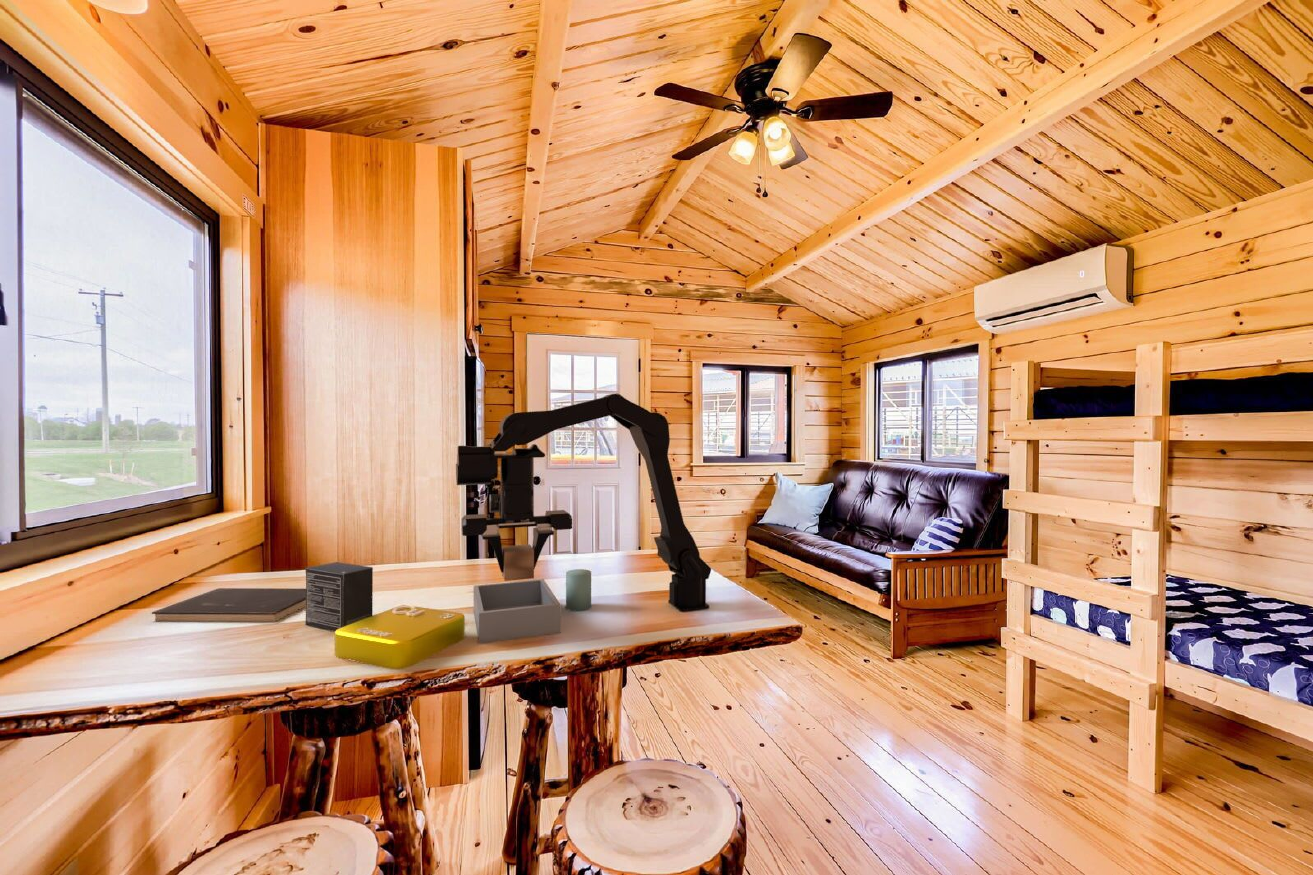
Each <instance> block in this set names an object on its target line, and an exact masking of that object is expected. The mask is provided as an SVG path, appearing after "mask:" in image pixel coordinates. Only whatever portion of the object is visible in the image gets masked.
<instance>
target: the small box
mask: <svg viewBox="0 0 1313 875" xmlns="http://www.w3.org/2000/svg"><path fill="white" fill-rule="evenodd" d="M373 570H374V568H373V566H366V565H359V564H352V563H345V562H337V561H335V562H330V563H325V564H320V565H314V566H309V567H306V568H305V589H306V606H305V625H306V626H310V627H313V628H319V629H324V630H328V631H333V632H335V631H336V630H337V629H339V628H342V627H344V626H347V625H350V624H352V623H355V622H358V621H360V620H363V619H366V618H368V617H371V616H373V602H374V601H373V595H374V594H373V593H374V592H373V591H374V590H373V589H374V588H373V587H374V586H373V584H374V583H373V579H374V578H373V575H374V574H373Z"/></svg>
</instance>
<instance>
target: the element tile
mask: <svg viewBox="0 0 1313 875" xmlns="http://www.w3.org/2000/svg"><path fill="white" fill-rule="evenodd" d="M465 619H466V618H465V614H463V613H462V612H457V611H450V610H449V611H448V610H443V609H435V608H429V607H422V606H415V605H408V604H407V605H406V604H405V605H404V604H403V605H399V606H396V607H393V608H390V609H388V610H384V611H382V612H379V613H377V614H374V615H372V616H371V617H368V618H366V619H363V620H360V621H358V622H355V623H352V624H350V625H347V626H344V627H342V628H339V629H337V630H336V631H334V657H335V656H336V657H335V658H337V657H338V658H337V659H340V658H342V659H341V660H345V659H351V660H355V661H359V662H358V663H360V662H363V663H362V664H365V663H366V664H365V665H370V664H371V665H370V666H376V667H380V666H381V667H380V668H385V669H389V668H390V669H389V670H402V669H407V668H409V667H412V666H414V664H415V665H416V664H419V663H420V662H423V661H425V660H426V659H428V658H430V657H432V656H434V655H436V654H438V653H440V652H442V651H443V650H445V649H447V648H449V647H452V646H453V645H455V644H457V643H459V642H460V641H463V640H464V639H465V636H466V633H465V632H466V631H465V630H466V628H465V626H466V625H465V622H466V620H465ZM355 661H354V662H355Z"/></svg>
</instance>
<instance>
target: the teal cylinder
mask: <svg viewBox="0 0 1313 875" xmlns="http://www.w3.org/2000/svg"><path fill="white" fill-rule="evenodd" d="M565 608H566V610H567V611H571V612H584V611H588V610H590V609H592V571H591V570H590V569H581V568H579V569H577V568H576V569H571V570H568V571H566V572H565Z"/></svg>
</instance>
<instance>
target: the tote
mask: <svg viewBox="0 0 1313 875" xmlns="http://www.w3.org/2000/svg"><path fill="white" fill-rule="evenodd" d="M473 614H474V621H475V626H476V632H477V639H478V643H479V644H484V643H485V644H486V643H492V642H493V643H494V642H499V641H508V640H514V639H522V638H531V637H538V636H546V635H553V634H561V603H560V601H559V600H558V598H557V597H556V595H555V594H554V592H553V590H551V588H550V586H549V585H548V584H547V582H546V581H545V579H543V578H542V579H539V578H538V579H527V580H516V581H505V582H498V583H486V584H476V585H475V584H474V585H473Z"/></svg>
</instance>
